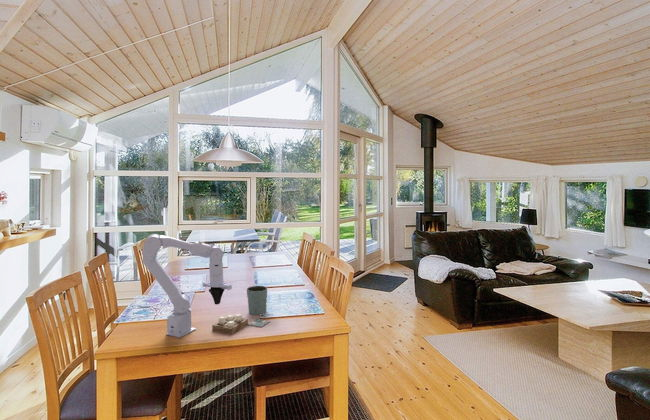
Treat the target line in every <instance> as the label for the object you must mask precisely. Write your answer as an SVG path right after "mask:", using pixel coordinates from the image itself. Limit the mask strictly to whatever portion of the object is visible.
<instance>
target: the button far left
mask: <svg viewBox="0 0 650 420" xmlns="http://www.w3.org/2000/svg"><path fill="white" fill-rule="evenodd" d="M233 316H234V315H232V314H229V315H226V318H227V320H228V321H232V320H233Z"/></svg>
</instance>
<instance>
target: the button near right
mask: <svg viewBox="0 0 650 420" xmlns="http://www.w3.org/2000/svg"><path fill="white" fill-rule="evenodd" d="M233 326H234V321H229V322H228V327H233Z"/></svg>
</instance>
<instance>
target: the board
mask: <svg viewBox="0 0 650 420" xmlns="http://www.w3.org/2000/svg"><path fill="white" fill-rule="evenodd" d="M232 321H234V326H233V327H228V322H229V321H228V320H227V317H225V324H224V325H219V321H218V322H216V323H213V324H212V325H211V326H212V330H211V331H212V332H213V331H214V332H218V333H223V334H227V335H233V334H234V333H236V332H238V331H239V330H241V329H243V328H244V327H246V326H249V325H248V324H249V319H248V318H243V317H242V322H240V323H238V322H236V316H234V315H233V320H232Z"/></svg>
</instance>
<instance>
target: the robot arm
mask: <svg viewBox="0 0 650 420" xmlns="http://www.w3.org/2000/svg"><path fill="white" fill-rule="evenodd" d="M141 248H142V263H143V265H144V266H145V267H146V269H147V270H148V271H149V273H150V274H151V275H152V276H153V278H154V279H155V280H156V281H157V283H158V284H159V285H160V287H161V289H163V291H164V292H165V293H166V295H167V296H168V298H169V300H170V302H171V304H172V306H173V310H172V313H171V315H169V316H168V317H167V319H166V331H167V332H166V333H165V335H167V336H172V337H175V338H182V337H184V336H186V335H187V334H190V333H191V332H193V331H196V329H197V328H196V327H192V308H191V303H190V296H189V294H187V293H186V292H184V291H183V290H181V289H180V288H179V287H178V286H177V284H176V283H175V282H174V280H173V279H172V278H171V277H170V275H169V274H168V273H167V271H166V269H165V268H164V267H163V266H162V264H161V263H160V262H159V260H158V259H157V255H158V252H159V251H160V250H161V249H166V248H177V249H182V250H186V251H189V252H190V255H193V256H198V257H202V258H205V259H207V258H209V267H208V268H209V281H206V280H205V281H203V282H202V287H204V288H205V287H206V288H209V289H208V292H209V293H210V295H211V297H212V298H213V299H212V300H213V303H214V305H219V304H221V301H222V297H223V294H224V291H225V290H227V291H231V290H232V284H231V283H227V282H225V281H224V263H223V257H224V252H223V250H222V248H221V247H219V246H218V245H215V244H213V243H211V244H207V243H204V242H203V241H201V240H199V241H194V242H189V241H185V240H182V239H178V238H176V237H172V236H168V235H163V234H157V233H152V234H149V235H148V236H147V237H146V239H145V241H144V243H143V246H142V247H141Z"/></svg>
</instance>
